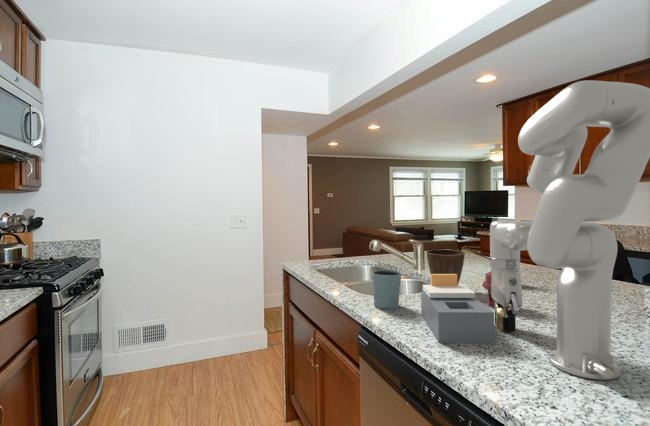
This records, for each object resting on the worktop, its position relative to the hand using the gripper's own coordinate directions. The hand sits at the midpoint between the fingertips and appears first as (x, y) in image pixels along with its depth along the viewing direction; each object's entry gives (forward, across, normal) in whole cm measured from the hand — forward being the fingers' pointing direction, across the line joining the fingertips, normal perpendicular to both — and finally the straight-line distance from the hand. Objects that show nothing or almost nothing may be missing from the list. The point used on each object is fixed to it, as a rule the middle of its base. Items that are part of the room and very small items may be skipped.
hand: (504, 327), depth 99 cm
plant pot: (+1, +43, +5) cm, 43 cm away
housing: (+1, +1, +14) cm, 14 cm away
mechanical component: (+1, +21, -7) cm, 22 cm away
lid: (-8, +7, +14) cm, 18 cm away
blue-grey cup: (+1, +22, +31) cm, 38 cm away
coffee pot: (+1, +57, -18) cm, 60 cm away
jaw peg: (+1, 0, 0) cm, 1 cm away
